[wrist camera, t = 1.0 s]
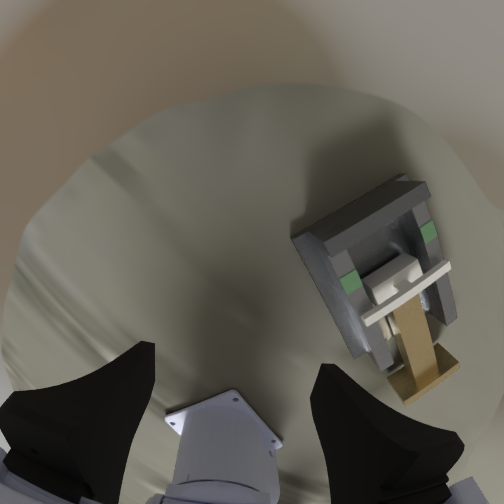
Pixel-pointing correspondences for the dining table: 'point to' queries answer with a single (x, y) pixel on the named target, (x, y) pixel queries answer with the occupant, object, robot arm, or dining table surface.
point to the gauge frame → (374, 260)
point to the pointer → (397, 284)
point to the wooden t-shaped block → (417, 353)
